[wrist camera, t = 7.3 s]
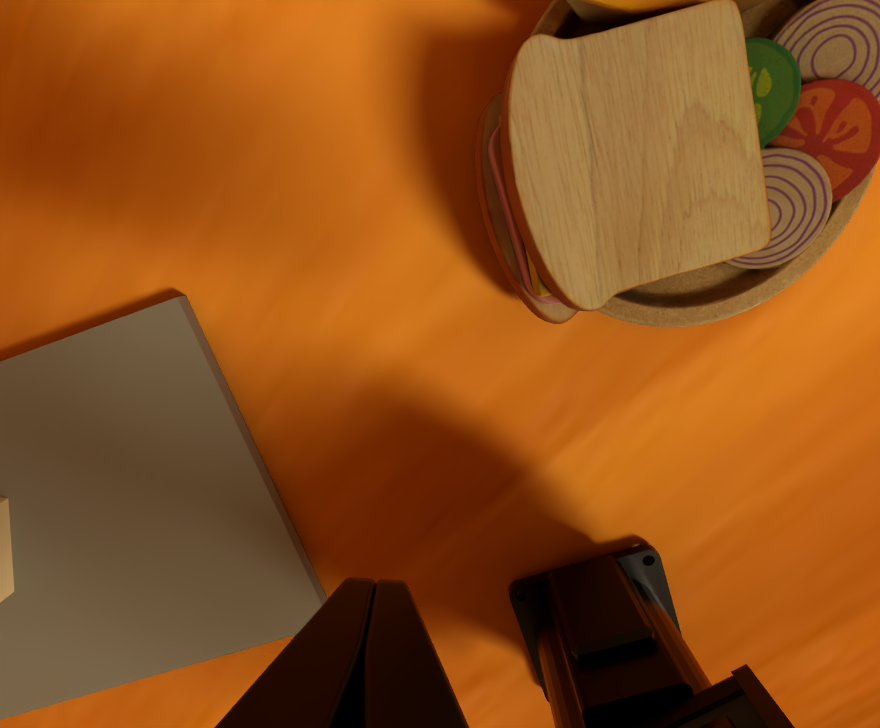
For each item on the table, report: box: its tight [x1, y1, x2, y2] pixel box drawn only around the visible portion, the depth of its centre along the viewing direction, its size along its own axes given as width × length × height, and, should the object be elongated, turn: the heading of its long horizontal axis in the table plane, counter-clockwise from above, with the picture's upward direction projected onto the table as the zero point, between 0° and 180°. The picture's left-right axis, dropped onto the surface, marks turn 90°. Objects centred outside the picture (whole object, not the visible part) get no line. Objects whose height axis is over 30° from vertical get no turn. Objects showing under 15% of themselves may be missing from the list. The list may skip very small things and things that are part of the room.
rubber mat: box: [0, 296, 327, 719], centre depth 20 cm, size 15×19×1 cm
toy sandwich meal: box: [475, 0, 880, 327], centre depth 14 cm, size 12×14×5 cm
